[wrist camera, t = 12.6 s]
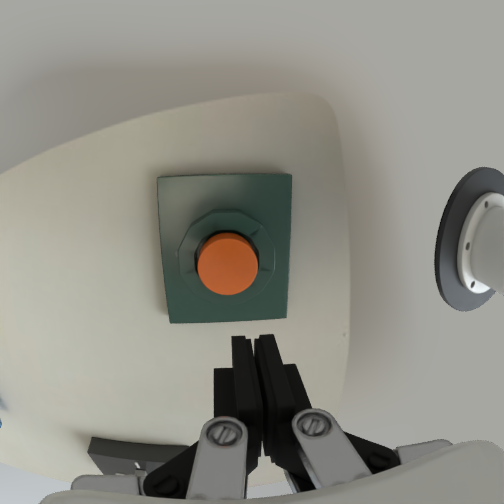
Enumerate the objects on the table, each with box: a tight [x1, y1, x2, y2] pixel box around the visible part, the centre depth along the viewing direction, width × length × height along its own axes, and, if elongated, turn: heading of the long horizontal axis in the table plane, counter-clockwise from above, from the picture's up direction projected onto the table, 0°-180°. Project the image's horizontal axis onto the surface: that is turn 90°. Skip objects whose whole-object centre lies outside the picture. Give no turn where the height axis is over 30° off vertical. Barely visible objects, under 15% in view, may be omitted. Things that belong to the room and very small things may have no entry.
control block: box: [157, 174, 292, 323], centre depth 22 cm, size 10×12×3 cm
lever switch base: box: [87, 437, 189, 475], centre depth 29 cm, size 14×10×3 cm
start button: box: [198, 233, 258, 295], centre depth 20 cm, size 4×4×2 cm
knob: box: [135, 470, 148, 476], centre depth 26 cm, size 5×2×5 cm, turn 0°
